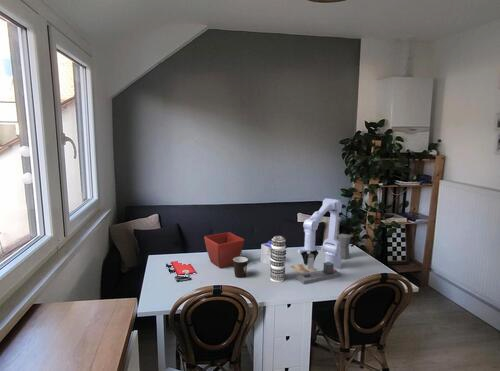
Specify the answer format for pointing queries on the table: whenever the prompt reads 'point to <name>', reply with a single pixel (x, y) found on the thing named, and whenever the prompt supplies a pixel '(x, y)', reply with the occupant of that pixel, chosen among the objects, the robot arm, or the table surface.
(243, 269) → the coffee mug
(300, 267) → the cork mat
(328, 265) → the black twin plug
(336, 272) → the power strip
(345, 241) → the coffeepot
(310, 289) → the table surface
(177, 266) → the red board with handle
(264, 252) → the ink cartridge box
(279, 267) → the decorative candle
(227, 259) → the plant pot
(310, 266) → the grey plug
